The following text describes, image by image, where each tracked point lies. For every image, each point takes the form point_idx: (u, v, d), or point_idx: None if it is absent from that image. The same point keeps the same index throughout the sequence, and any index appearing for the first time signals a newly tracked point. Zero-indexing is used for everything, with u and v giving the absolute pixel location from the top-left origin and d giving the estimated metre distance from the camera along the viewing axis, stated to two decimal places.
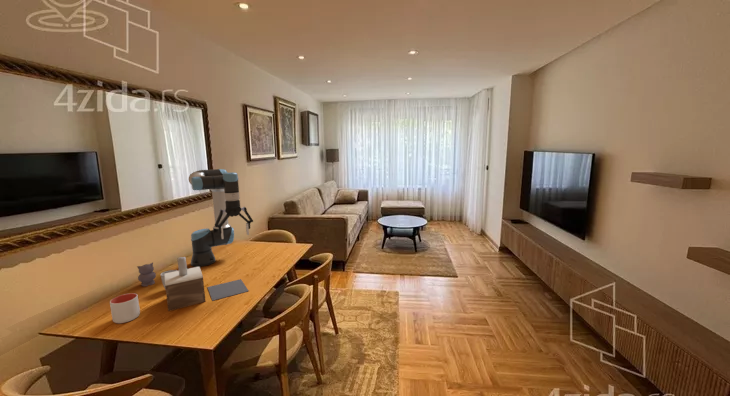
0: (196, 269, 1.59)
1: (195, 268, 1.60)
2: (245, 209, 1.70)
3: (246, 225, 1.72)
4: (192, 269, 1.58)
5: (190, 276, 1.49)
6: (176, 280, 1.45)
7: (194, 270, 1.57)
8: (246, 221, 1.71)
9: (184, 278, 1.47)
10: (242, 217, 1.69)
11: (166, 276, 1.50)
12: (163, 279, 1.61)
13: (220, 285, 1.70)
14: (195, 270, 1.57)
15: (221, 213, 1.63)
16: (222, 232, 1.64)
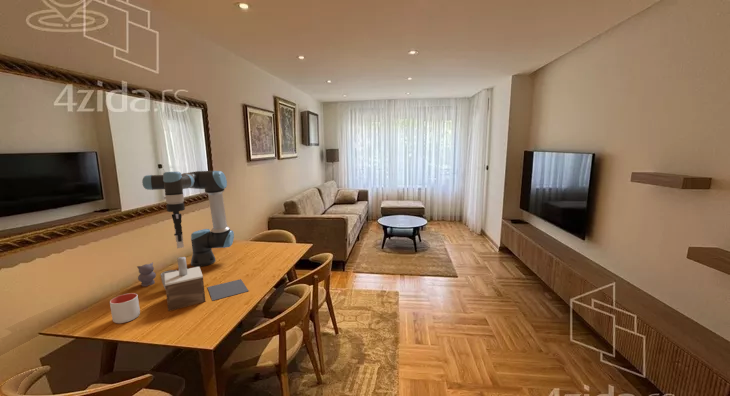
0: (196, 269, 1.59)
1: (195, 268, 1.60)
2: (174, 217, 1.41)
3: None
4: (192, 269, 1.58)
5: (190, 276, 1.49)
6: (176, 280, 1.45)
7: (194, 270, 1.57)
8: None
9: (184, 278, 1.47)
10: None
11: (166, 276, 1.50)
12: (163, 279, 1.61)
13: (220, 285, 1.70)
14: (195, 270, 1.57)
15: None
16: (175, 234, 1.53)
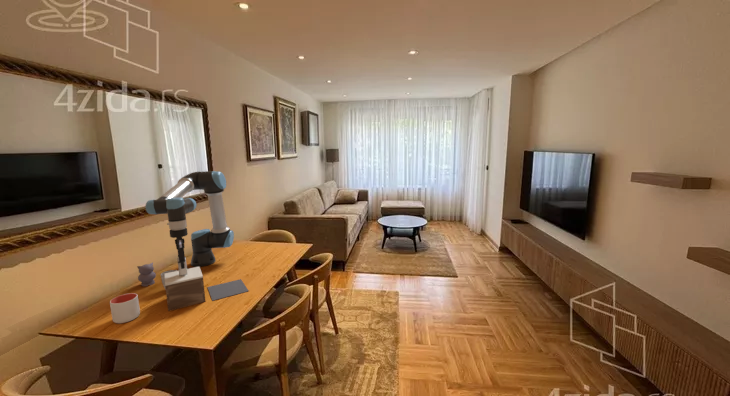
0: (196, 269, 1.59)
1: (195, 268, 1.60)
2: (177, 246, 1.44)
3: None
4: (192, 269, 1.58)
5: (190, 276, 1.49)
6: (176, 280, 1.45)
7: (194, 270, 1.57)
8: None
9: (184, 278, 1.47)
10: None
11: (166, 276, 1.50)
12: (163, 279, 1.61)
13: (220, 285, 1.70)
14: (195, 270, 1.57)
15: None
16: None
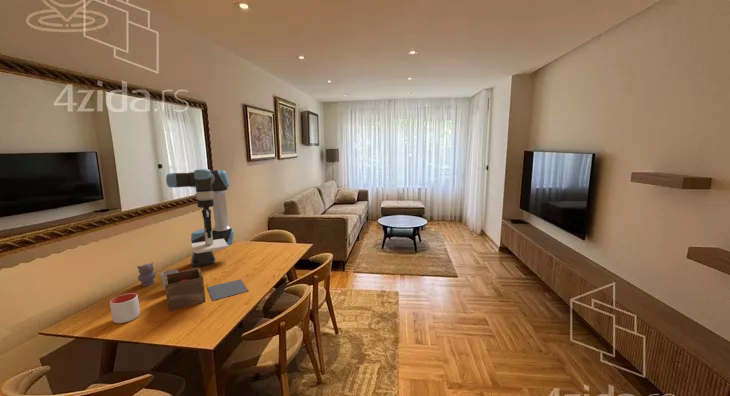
0: (220, 240, 1.64)
1: (220, 239, 1.65)
2: (205, 215, 1.49)
3: None
4: (217, 240, 1.64)
5: (216, 245, 1.54)
6: (203, 248, 1.50)
7: (219, 241, 1.62)
8: None
9: (210, 247, 1.52)
10: (204, 221, 1.53)
11: (193, 245, 1.55)
12: (163, 279, 1.61)
13: (220, 285, 1.70)
14: (220, 241, 1.62)
15: None
16: None
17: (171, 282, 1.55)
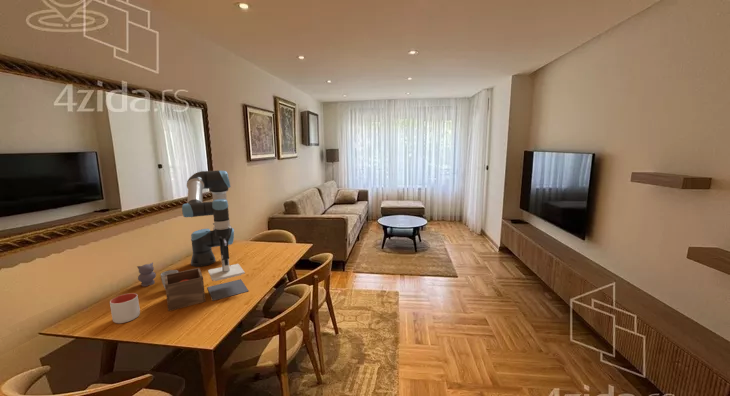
0: (236, 266, 1.70)
1: (235, 265, 1.71)
2: (223, 244, 1.55)
3: None
4: (232, 266, 1.70)
5: (233, 272, 1.61)
6: (221, 276, 1.56)
7: (235, 267, 1.68)
8: None
9: (228, 274, 1.58)
10: (222, 249, 1.59)
11: (210, 272, 1.61)
12: (163, 279, 1.61)
13: (220, 285, 1.70)
14: (236, 267, 1.68)
15: None
16: None
17: (171, 282, 1.55)
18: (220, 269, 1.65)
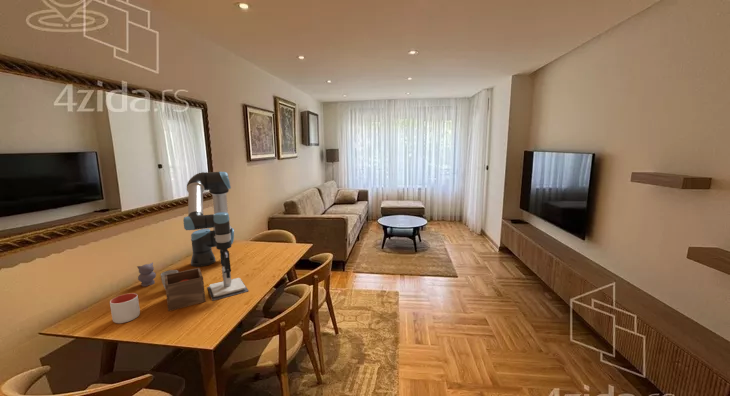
0: (237, 280, 1.72)
1: (236, 279, 1.73)
2: (224, 256, 1.56)
3: None
4: (234, 280, 1.71)
5: (234, 287, 1.62)
6: (222, 291, 1.58)
7: (236, 281, 1.70)
8: (224, 268, 1.58)
9: (229, 289, 1.60)
10: (223, 262, 1.59)
11: (212, 287, 1.63)
12: (163, 279, 1.61)
13: None
14: (237, 281, 1.70)
15: (220, 251, 1.66)
16: (222, 271, 1.66)
17: (171, 282, 1.55)
18: (221, 284, 1.67)
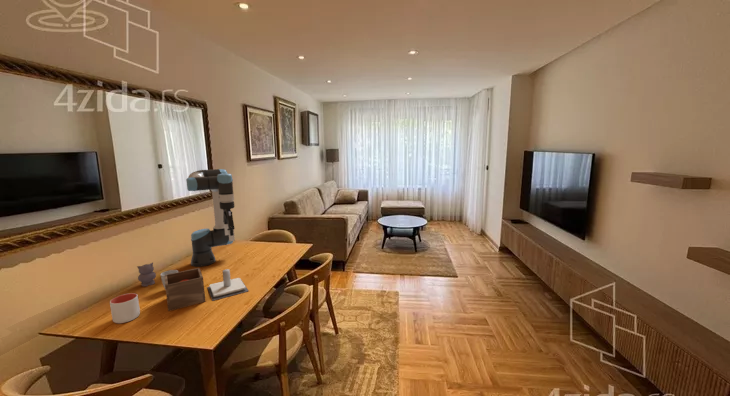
0: (237, 280, 1.72)
1: (236, 279, 1.73)
2: (227, 214, 1.60)
3: None
4: (234, 280, 1.71)
5: (234, 287, 1.62)
6: (222, 291, 1.58)
7: (236, 281, 1.70)
8: (228, 226, 1.61)
9: (229, 289, 1.60)
10: (227, 221, 1.63)
11: (212, 287, 1.63)
12: (163, 279, 1.61)
13: None
14: (237, 281, 1.70)
15: (223, 211, 1.71)
16: (224, 229, 1.73)
17: (171, 282, 1.55)
18: (221, 284, 1.67)
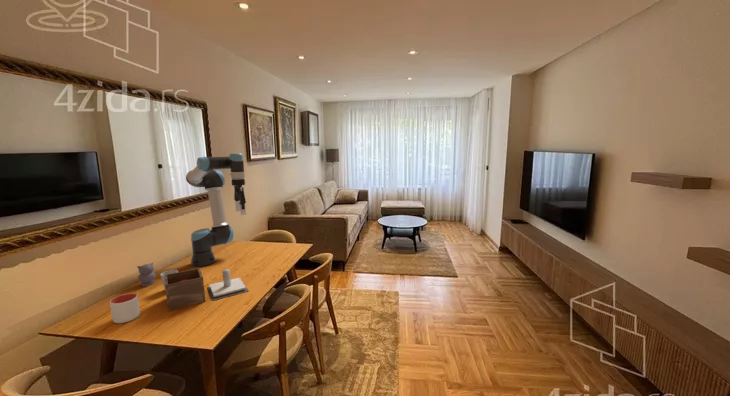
0: (237, 280, 1.72)
1: (236, 279, 1.73)
2: (239, 189, 1.75)
3: None
4: (234, 280, 1.71)
5: (234, 287, 1.62)
6: (222, 291, 1.58)
7: (236, 281, 1.70)
8: (239, 201, 1.76)
9: (229, 289, 1.60)
10: (238, 196, 1.77)
11: (212, 287, 1.63)
12: (163, 279, 1.61)
13: None
14: (237, 281, 1.70)
15: (234, 188, 1.85)
16: None
17: (171, 282, 1.55)
18: (221, 284, 1.67)
